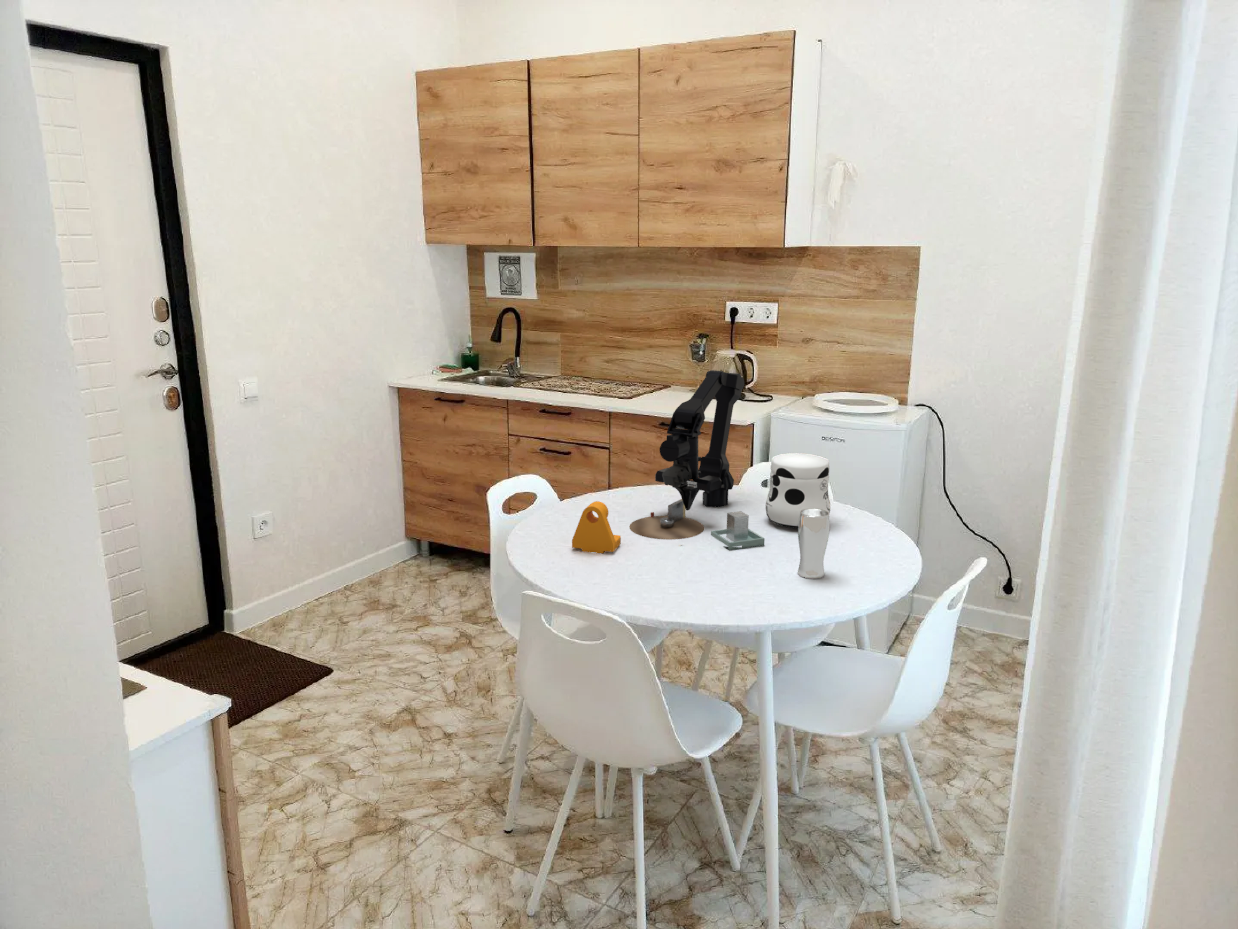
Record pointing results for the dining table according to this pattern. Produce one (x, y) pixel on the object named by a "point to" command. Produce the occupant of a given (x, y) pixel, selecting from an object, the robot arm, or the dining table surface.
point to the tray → (752, 541)
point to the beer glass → (812, 542)
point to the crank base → (666, 528)
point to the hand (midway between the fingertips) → (687, 510)
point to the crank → (674, 514)
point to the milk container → (797, 487)
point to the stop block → (737, 526)
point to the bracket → (595, 531)
